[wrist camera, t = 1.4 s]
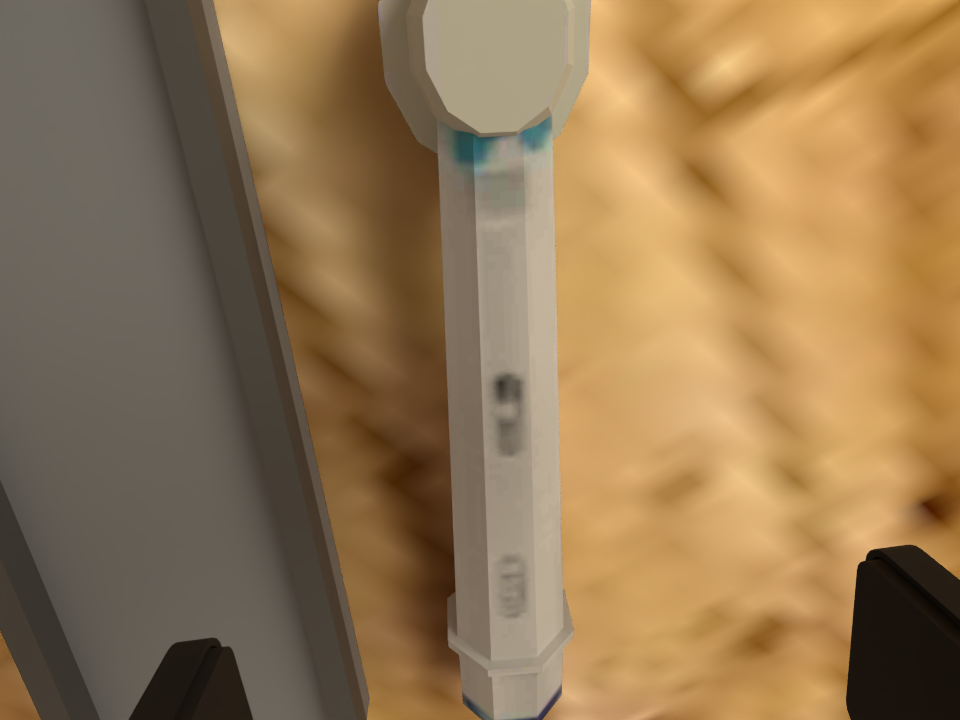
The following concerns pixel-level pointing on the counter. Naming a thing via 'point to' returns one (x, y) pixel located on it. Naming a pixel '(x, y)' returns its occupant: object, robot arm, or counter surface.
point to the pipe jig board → (150, 379)
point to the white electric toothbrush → (498, 318)
